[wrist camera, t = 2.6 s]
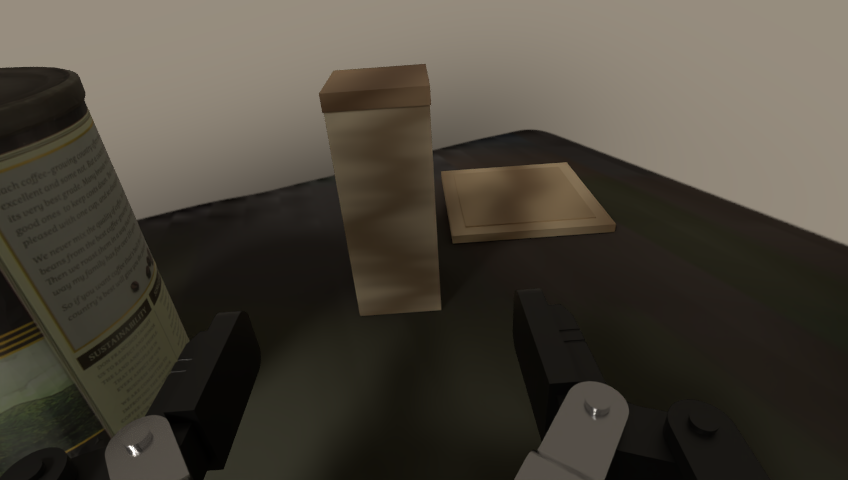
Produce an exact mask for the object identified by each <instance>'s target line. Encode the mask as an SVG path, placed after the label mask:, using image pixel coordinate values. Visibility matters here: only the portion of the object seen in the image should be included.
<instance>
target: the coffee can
mask: <svg viewBox="0 0 848 480" xmlns="http://www.w3.org/2000/svg"><path fill="white" fill-rule="evenodd" d="M84 98H85V91H84V88H83V85H82V83H81V80H80V77H79V76H78V74H76V73H75V72H73V71H70V70H65V69H60V68H51V67H14V68H0V477H1V476H2V475H3V473H4V472H5V471H6V470H7V469H8V468H10V467H11V466H12V465H13V464H14V463H16V462H17V461H19V460H20V459H22V458H23V457H25V456H27V455H29V454H31V453H33V452H35V451H37V450H41V449H44V448H49V447H57V448H61V449H63V450H64V451H65V452H66V453H67V455H68V456H69V457H70V458H73V457H76V456H79V455H82V454H85V453H88V452H91V451H94V450H97V449H100V448H103V447H106V446H107V445H108V443H109V442H110V440H111V439H112V437H113V436H114V435H115V434H116V433H117V432H118V431H119V430H120V429H122V428H123V427H124V426H126V425H127V424H129V423H130V422H132V421H134V420H136V419H139V418H141V417H145V415H146V413H147V411H148V410H149V408H150V406H151V404H152V403H153V401H154V399H155V397H156V396H157V394H158V392H159V391H160V389H161V387H162V385H163V384H164V382H165V380H166V378H167V377H168V375H169V374H170V373H171V370H172V368H173V366H174V364H175V363H176V362H178V357H179V356H180V354H181V352H182V351H183V349H184V347H185V345H186V344H187V343H188V342H189V338H188V336H187V334H186V332H185V329H184V327H183V325H182V323H181V320H180V318H179V316H178V313H177V311H176V309H175V307H174V304H173V302H172V300H171V298H170V295H169V293H168V291H167V289H166V286H165V284H164V282H163V280H162V277H161V275H160V273H159V270H158V268H157V265H156V263H155V261H154V259H153V257H152V254H151V252H150V250H149V247H148V245H147V243H146V241H145V238H144V236H143V234H142V232H141V229H140V227H139V225H138V222H137V220H136V218H135V216H134V213H133V211H132V209H131V206H130V204H129V202H128V200H127V197H126V195H125V193H124V190H123V188H122V185H121V183H120V181H119V179H118V177H117V174H116V172H115V170H114V167H113V165H112V163H111V161H110V158H109V156H108V154H107V151H106V149H105V147H104V144H103V142H102V140H101V138H100V135H99V133H98V131H97V128H96V126H95V124H94V121H93V119H92V117H91V115H90V112H89V110H88V108H87V106H86V104H85V101H84Z"/></svg>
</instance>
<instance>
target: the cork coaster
mask: <svg viewBox="0 0 848 480" xmlns="http://www.w3.org/2000/svg"><path fill="white" fill-rule="evenodd" d="M441 178H442V184H443V190H444V196H445V201H446V207H447V213H448V219H449V225H450V230H451V236H452V242H453V244H454V243H468V242H482V241H496V240H510V239H523V238H537V237H551V236H565V235H578V234H592V233H606V232H615V227H616V223H615V222H614V221H613V220H612V219H611V217H610V216H609V215H608V214H607V212H606V211H605V210H604V209H603V207H602V206H601V205H600V204H599V202H598V201H597V200H596V199H595V197H594V196H593V195H592V194H591V192H590V191H589V190H588V189H587V187H586V186H585V185H584V184H583V182H582V181H581V180H580V179H579V177H578V176H577V175H576V174H575V172H574V171H573V170H572V169H571V167H570V166H569V165H568V164H567V162H565V163H551V164H538V165H524V166H510V167H496V168H483V169H469V170H455V171H441Z"/></svg>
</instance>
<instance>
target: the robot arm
mask: <svg viewBox="0 0 848 480" xmlns="http://www.w3.org/2000/svg"><path fill="white" fill-rule="evenodd" d="M513 339H514V346H515V350H516V354H517V357H518V361H519V364H520V368H521V371H522V375H523V378H524V382H525V385H526V389H527V392H528V396H529V399H530V402H531V406H532V409H533V413H534V416H535V420H536V423H537V427H538V430H539V434H540V437H541V441H542V443H541V445H540V447H539V448H538V450H537V451H535V450H532V451H531V452H530V453H529V454H528V456H527V457H526V459H525V461H524V463H523V464H522V466H521V468H520V470H519V472H518V474H517V475H516V477H515V479H514V480H770V478H769V477H768V475H767V474H766V472H765V470H764V469H763V467H762V466H761V464H760V463H759V461H758V460H757V458H756V457H755V455H754V453H753V452H752V450H751V449H750V447H749V446H748V444H747V443H746V441H745V439H744V438H743V436H742V435H741V433H740V432H739V430H738V429H737V427H736V425H735V424H734V423H733V421H732V420H731V419H730V418H729V417H728V416H727V415H726V414H725V413H724V412H722V411H721V410H719V409H718V408H716V407H714V406H713V405H711V404H708V403H705V402H702V401H698V400H690V399H687V400H681V401H677V402H675V403H674V404H673V405H671V407H670V408H669V411H668V412H666V411H661V410H656V409H651V408H645V407H641V406H637V405H634V404H631V403H629V402H627V401H626V400H625V399H624V397H623V396H622V395H621V394H620V393H619V392H618V391H616V390H615V389H614V388H612V387H610V386H608V385H607V384H606V382H605V380H604V378H603V376H602V374H601V372H600V370H599V368H598V366H597V364H596V361H595V359H594V357H593V355H592V353H591V351H590V349H589V347H588V345H587V343H586V342H585V339H584V337H583V335H582V332H581V331H580V328H579V326H578V324H577V322H576V320H575V318H574V316H573V315H572V314H571V313H570V312H569V311H568V310H567V309H566V308H564V307H563V306H562V305H561V304H555V305H548V303H547V301H546V299H545V296H544V294H543V292H542V290H541V289H540V288H537V289H525V290H515V293H514V313H513ZM260 363H261V353H260V348H259V345H258V342H257V339H256V336H255V333H254V331H253V328H252V325H251V322H250V319H249V316H248V314H247V313H246V312H245V311H235V312H222V313H218V314H216V316H215V317H214V319H213V321H212V323H211V325H210V326H209V328H208V330H207V331H200V332H199V333H198V334H197V335H196V336H195V337H194V338H192V339H191V340H190V341H189V342H188V343H187V344H186V345H185V347H184V349H183V351H182V352H181V354H180V356H179V357H178V362H176V363H175V364H174V366H173V368H172V370H171V373H170V374H169V375H168V377H167V378H166V380H165V382H164V384H163V385H162V387H161V389H160V391H159V392H158V394H157V396H156V397H155V399H154V401H153V403H152V404H151V406H150V408H149V410H148V411H147V413H146V415H145V417H141V418H139V419H136V420H134V421H132V422H130V423H129V424H127V425H126V426H124V427H123V428H122V429H120V430H119V431H118V432H117V433H116V434H115V435H114V436H113V437H112V439H111V440H110V442H109V443H108V445H107V446H106V447H103V448H100V449H97V450H94V451H91V452H88V453H85V454H82V455H79V456H76V457H73V458H70V457H69V456H68V455H67V453H66V452H65V451H64V450H63V449H61V448H57V447H49V448H44V449H41V450H37V451H35V452H33V453H31V454H29V455H27V456H25V457H23V458H22V459H20V460H19V461H17V462H16V463H14V464H13V465H12V466H11V467H10V468H8V469H7V470H6V471H5V472H4V473H3V475H2V476H1V477H0V480H203V479H204V477H205V474H206V472H207V471H209V470H222V469H224V466H225V464H226V461H227V458H228V455H229V452H230V450H231V447H232V444H233V441H234V438H235V436H236V433H237V430H238V427H239V425H240V422H241V419H242V416H243V413H244V411H245V408H246V405H247V402H248V399H249V397H250V394H251V391H252V388H253V385H254V383H255V380H256V377H257V374H258V372H259V368H260Z"/></svg>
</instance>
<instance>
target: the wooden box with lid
mask: <svg viewBox="0 0 848 480" xmlns="http://www.w3.org/2000/svg"><path fill="white" fill-rule="evenodd" d="M319 97H320V102H321V108H322V112H323V113H324V117H325V122H326V128H327V133H328V139H329V145H330V150H331V155H332V161H333V167H334V173H335V178H336V184H337V189H338V195H339V201H340V206H341V212H342V217H343V223H344V229H345V234H346V240H347V246H348V251H349V257H350V262H351V268H352V274H353V279H354V285H355V290H356V296H357V302H358V307H359V313H360V316H369V315H382V314H396V313H409V312H423V311H437V310H441V296H440V278H439V260H438V242H437V225H436V207H435V189H434V171H433V154H432V136H431V119H430V105H431V98H430V84H429V79H428V74H427V69H426V64H419V65H404V66H391V67H378V68H363V69H350V70H336V71H333V72H332V74H331V76H330V77H329V79H328V80H327V82H326V84H325V85H324V87H323V88H322V90H321V91H320V93H319Z"/></svg>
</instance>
